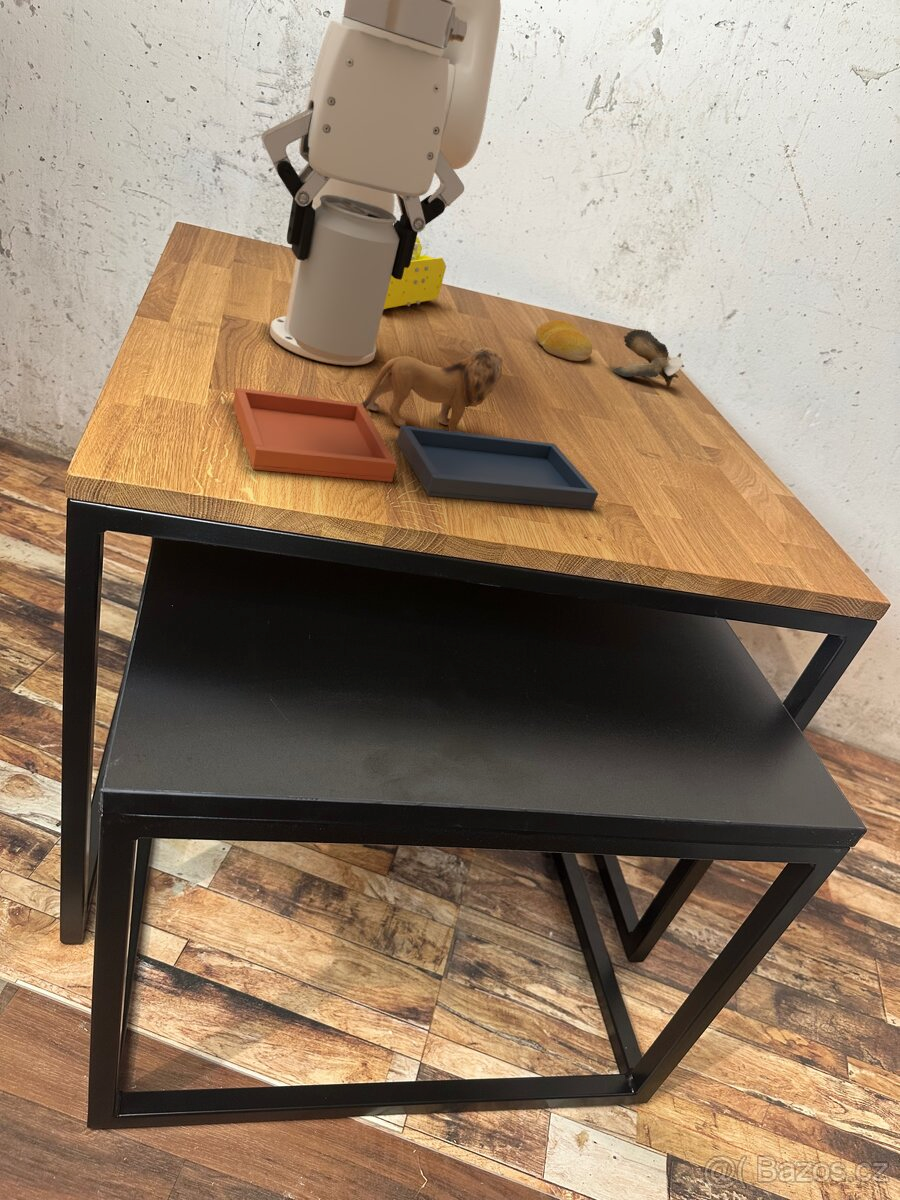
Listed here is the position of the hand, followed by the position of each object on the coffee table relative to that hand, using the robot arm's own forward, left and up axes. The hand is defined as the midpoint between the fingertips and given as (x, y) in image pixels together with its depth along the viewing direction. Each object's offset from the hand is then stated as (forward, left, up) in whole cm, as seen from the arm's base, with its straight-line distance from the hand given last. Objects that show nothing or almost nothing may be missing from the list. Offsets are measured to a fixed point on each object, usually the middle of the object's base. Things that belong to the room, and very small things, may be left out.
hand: (347, 263), depth 72 cm
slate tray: (+3, +18, -17) cm, 25 cm away
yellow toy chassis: (-50, +23, -17) cm, 58 cm away
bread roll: (-41, +47, -17) cm, 65 cm away
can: (0, 0, -7) cm, 7 cm away
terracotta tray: (0, 0, -17) cm, 17 cm away
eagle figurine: (-34, +58, -17) cm, 69 cm away
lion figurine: (-8, +14, -17) cm, 23 cm away
